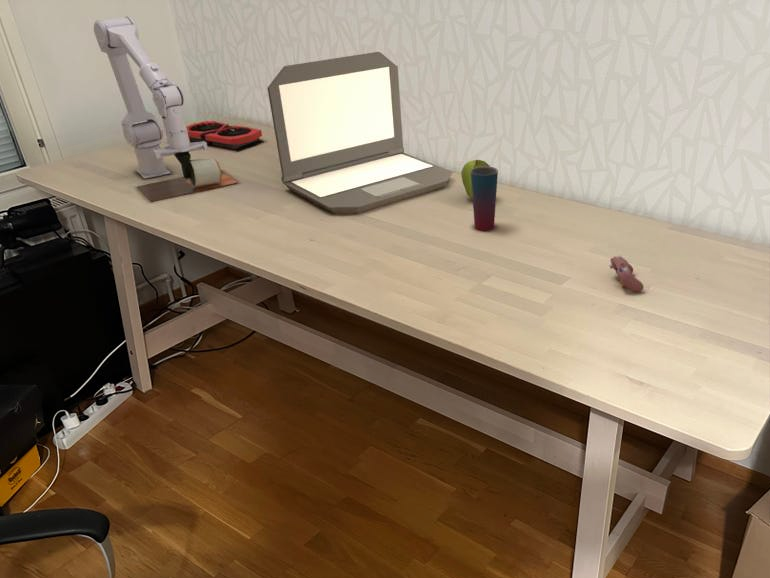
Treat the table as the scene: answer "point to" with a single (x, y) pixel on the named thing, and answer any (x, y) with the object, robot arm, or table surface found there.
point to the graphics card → (224, 135)
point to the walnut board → (179, 187)
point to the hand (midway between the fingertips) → (188, 177)
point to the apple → (467, 174)
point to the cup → (484, 196)
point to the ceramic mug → (205, 172)
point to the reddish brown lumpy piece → (625, 274)
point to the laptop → (346, 134)
